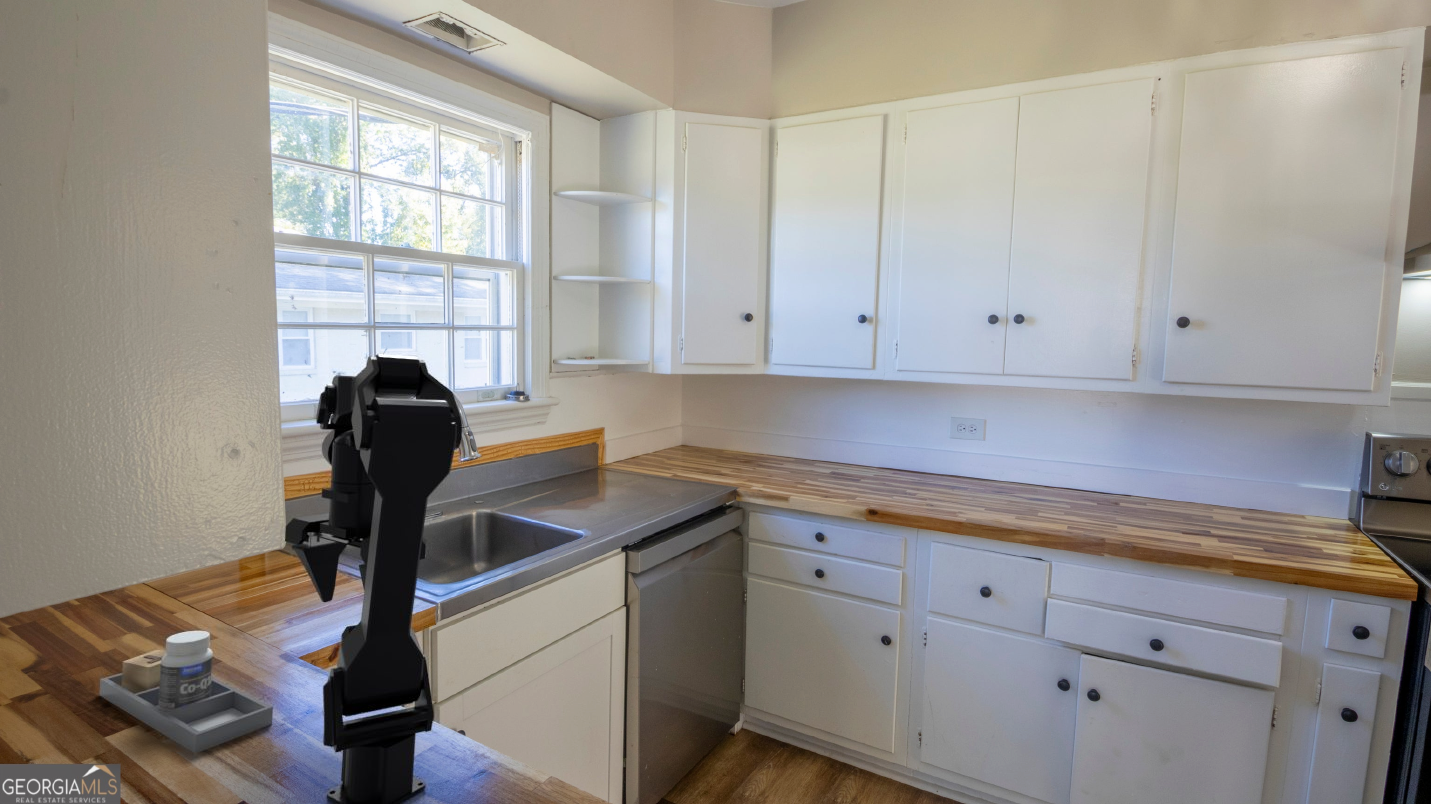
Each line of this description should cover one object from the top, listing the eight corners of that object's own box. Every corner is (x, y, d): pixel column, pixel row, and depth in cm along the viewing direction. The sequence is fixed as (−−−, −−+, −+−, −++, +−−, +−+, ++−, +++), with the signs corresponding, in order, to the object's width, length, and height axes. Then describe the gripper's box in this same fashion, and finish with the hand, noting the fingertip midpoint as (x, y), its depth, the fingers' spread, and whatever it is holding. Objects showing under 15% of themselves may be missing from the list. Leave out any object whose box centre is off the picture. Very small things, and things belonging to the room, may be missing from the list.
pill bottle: (182, 722, 76) (185, 647, 75) (147, 715, 76) (150, 640, 76) (221, 703, 80) (224, 632, 80) (187, 696, 81) (190, 626, 81)
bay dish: (271, 731, 77) (272, 706, 76) (194, 762, 70) (196, 735, 70) (174, 680, 87) (175, 658, 87) (99, 702, 80) (100, 679, 80)
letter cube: (181, 687, 83) (183, 653, 83) (147, 701, 79) (149, 666, 79) (156, 681, 84) (158, 648, 84) (121, 695, 80) (122, 660, 80)
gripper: (466, 484, 85) (458, 608, 86) (368, 466, 94) (362, 579, 94) (386, 493, 75) (378, 634, 76) (285, 473, 84) (279, 600, 84)
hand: (350, 609), depth 83 cm, fingers open, 9 cm apart
